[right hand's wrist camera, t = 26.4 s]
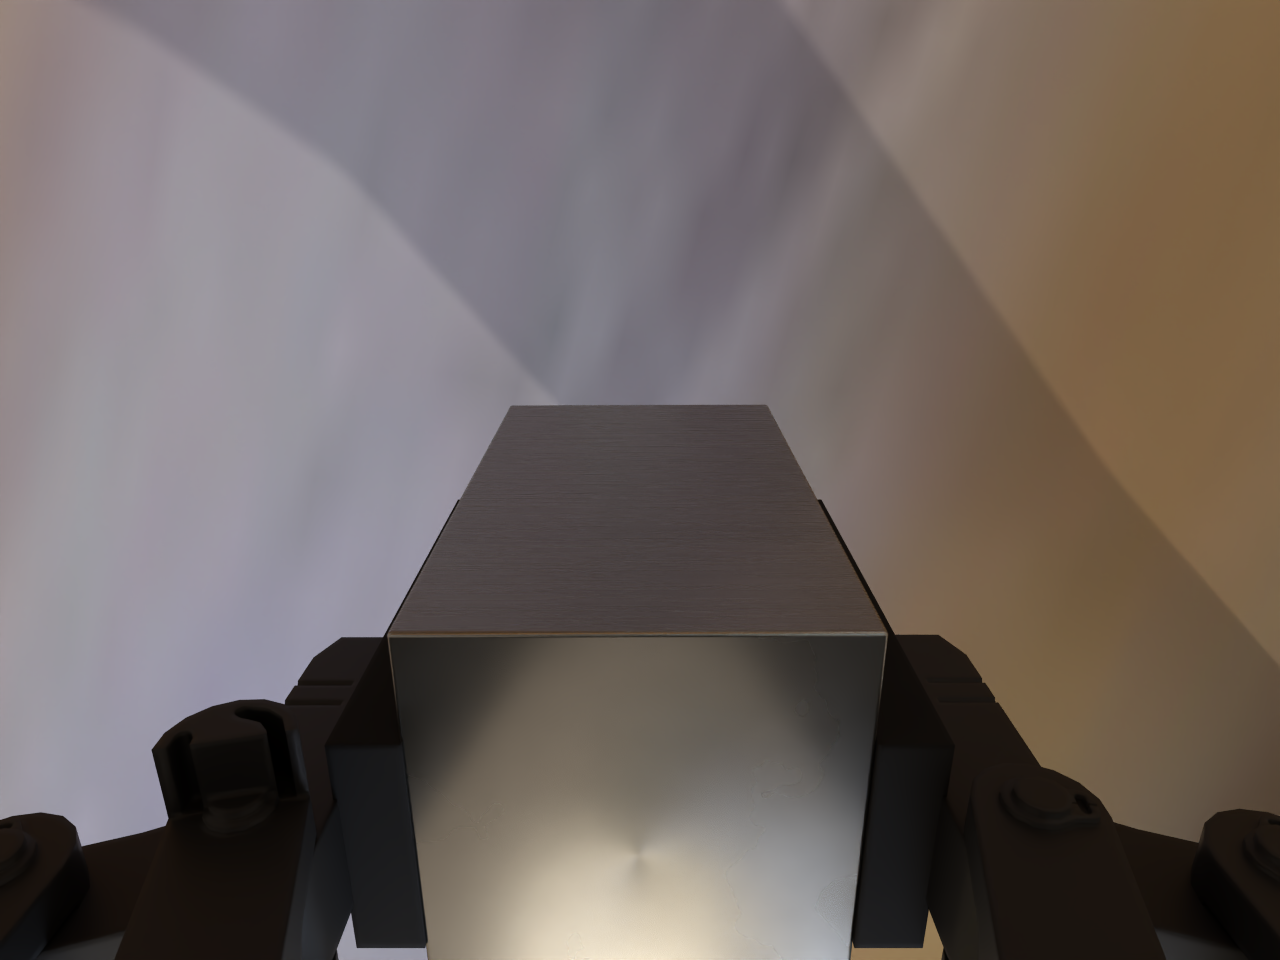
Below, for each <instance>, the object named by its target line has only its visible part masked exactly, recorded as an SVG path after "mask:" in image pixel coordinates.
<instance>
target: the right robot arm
mask: <svg viewBox="0 0 1280 960" xmlns="http://www.w3.org/2000/svg"><path fill="white" fill-rule="evenodd" d="M459 501H460V500H458V501H457V503H456V505H455V506H454V508H453V510H452V512H451V514H450V516H449V517H448V519H447V521H446V523H445V525H444V527H443V528H442V530H441V532H440V534H439V536H438V538H437V539H436V541H435V543H434V545H433V547H432V549H431V550H430V552H429V554H428V556H427V558H426V560H425V561H424V563H423V565H422V567H421V569H420V571H419V572H418V574H417V576H416V578H415V580H414V582H413V583H412V585H411V587H410V589H409V591H408V593H407V594H406V596H405V598H404V600H403V602H402V604H401V606H400V607H399V609H398V611H397V613H396V615H395V617H394V618H393V620H392V622H391V624H390V626H389V628H388V629H387V631H386V633H385V635H384V637H341V638H340V639H339V640H337V641H336V642H334V643H333V644H332V645H330V646H329V647H328V648H326V649H325V650H323V651H322V652H321V653H319V654H318V655H316V656H315V657H314V658H313V659H312V661H311V662H310V664H309V665H308V667H307V668H306V670H305V671H304V673H303V674H302V676H301V677H300V679H299V680H298V686H294V688H293V689H292V691H291V692H290V694H289V695H288V697H287V698H286V700H285V704H281V703H277V702H273V701H269V700H265V699H259V700H237V701H233V702H229V703H224V704H220V705H216V706H212V707H210V708H207V709H205V710H203V711H200V712H198V713H196V714H193V715H191V716H189V717H187V718H185V719H184V720H182V721H181V722H179V723H178V724H176V725H175V726H174V727H172V728H171V729H169V730H168V731H167V732H165V733H164V734H163V736H162V737H161V738H160V740H159V741H158V742H157V744H156V745H155V746H154V747H153V749H152V754H153V758H154V762H155V766H156V770H157V774H158V778H159V782H160V786H161V790H162V794H163V798H164V802H165V806H166V810H167V814H168V818H169V819H168V821H167V824H166V826H164V827H160V828H157V829H153V830H150V831H147V832H143V833H139V834H135V835H130V836H126V837H121V838H117V839H113V840H108V841H104V842H99V843H95V844H91V845H86V846H82V847H81V843H80V840H79V837H78V833H77V830H76V827H75V826H74V825H73V824H72V823H71V822H69V821H68V820H67V819H66V818H65V817H64V816H60V815H54V814H47V813H33V814H25V815H17V816H11V817H8V818H5V819H2V820H0V960H338V954H337V947H338V944H339V942H340V939H341V937H342V934H343V931H344V929H345V926H346V924H347V921H348V918H349V916H350V913H351V915H352V921H353V927H354V933H355V939H356V946H357V948H425V946H426V937H425V928H424V920H423V912H422V904H421V896H420V887H419V879H418V871H417V863H416V855H415V846H414V838H413V830H412V822H411V814H410V805H409V797H408V789H407V781H406V772H405V764H404V756H403V748H402V742H401V740H400V733H399V725H398V717H397V709H396V701H395V694H394V686H393V678H392V670H391V662H390V654H389V646H388V638H387V635H388V632H389V630H390V628H391V626H392V624H393V623H394V621H395V619H396V617H397V615H398V613H399V612H400V610H401V608H402V606H403V604H404V602H405V600H406V599H407V597H408V595H409V593H410V591H411V589H412V587H413V586H414V584H415V582H416V580H417V578H418V576H419V575H420V573H421V571H422V569H423V567H424V565H425V563H426V562H427V560H428V558H429V556H430V554H431V552H432V551H433V549H434V547H435V545H436V543H437V541H438V539H439V538H440V536H441V534H442V532H443V530H444V528H445V527H446V525H447V523H448V521H449V519H450V517H451V515H452V514H453V512H454V510H455V508H456V506H457V504H458V503H459ZM818 502H819V504H820V506H821V508H822V510H823V511H824V513H825V515H826V517H827V519H828V521H829V523H830V525H831V527H832V528H833V530H834V532H835V534H836V536H837V538H838V540H839V542H840V543H841V545H842V547H843V549H844V551H845V553H846V555H847V557H848V559H849V560H850V562H851V564H852V566H853V568H854V570H855V572H856V574H857V575H858V577H859V579H860V581H861V583H862V585H863V587H864V589H865V591H866V592H867V594H868V596H869V598H870V600H871V602H872V604H873V606H874V607H875V609H876V611H877V613H878V615H879V617H880V619H881V621H882V623H883V624H884V626H885V628H886V630H887V632H888V639H887V648H886V656H885V665H884V674H883V682H882V691H881V700H880V708H879V717H878V725H877V734H876V743H875V751H874V760H873V768H872V777H871V786H870V794H869V803H868V812H867V820H866V829H865V837H864V846H863V855H862V863H861V872H860V881H859V889H858V898H857V906H856V915H855V924H854V932H853V945H854V948H923V942H924V936H925V930H926V924H927V917H928V911H930V913H931V916H932V918H933V921H934V923H935V926H936V929H937V931H938V934H939V936H940V939H941V941H942V944H943V947H944V948H943V954H942V960H1280V816H1277V815H1274V814H1271V813H1268V812H1260V811H1252V810H1244V809H1235V810H1229V811H1223V812H1217V813H1216V814H1215V815H1214V816H1213V817H1211V818H1210V819H1209V820H1208V821H1207V822H1205V824H1204V827H1203V831H1202V834H1201V838H1200V841H1199V843H1196V842H1192V841H1187V840H1183V839H1178V838H1174V837H1169V836H1165V835H1160V834H1156V833H1152V832H1147V831H1143V830H1138V829H1135V828H1131V827H1128V826H1125V825H1121V824H1118V823H1114V822H1113V820H1112V817H1111V816H1110V814H1109V813H1108V811H1107V810H1106V808H1105V807H1104V805H1103V804H1102V802H1101V801H1100V799H1099V798H1097V797H1096V796H1095V795H1094V794H1092V793H1091V792H1090V791H1089V790H1087V789H1086V788H1085V787H1084V786H1082V785H1081V784H1080V783H1079V782H1077V781H1074V780H1072V779H1070V778H1068V777H1066V776H1064V775H1062V774H1060V773H1058V772H1056V771H1054V770H1050V769H1047V768H1043V767H1041V766H1040V764H1039V763H1038V761H1037V760H1036V758H1035V757H1034V755H1033V754H1032V752H1031V751H1030V749H1029V748H1028V746H1027V745H1026V743H1025V742H1024V740H1023V739H1022V737H1021V736H1020V734H1019V733H1018V731H1017V730H1016V728H1015V727H1014V725H1013V724H1012V722H1011V721H1010V719H1009V718H1008V716H1007V715H1006V713H1005V712H1004V710H1003V709H1002V707H1001V706H1000V704H999V703H995V697H994V696H993V694H992V693H991V691H990V690H989V688H988V687H987V685H986V684H985V683H982V678H981V676H980V675H979V673H978V672H977V670H976V669H975V667H974V666H973V664H972V663H971V661H970V660H969V658H968V657H967V655H966V654H964V653H963V652H962V651H960V650H959V649H957V648H956V647H955V646H953V645H952V644H950V643H949V642H948V641H946V640H945V639H943V638H942V637H941V636H939V635H895V634H894V632H893V630H892V629H891V627H890V625H889V623H888V621H887V619H886V618H885V616H884V614H883V612H882V610H881V608H880V606H879V605H878V603H877V601H876V599H875V597H874V595H873V594H872V592H871V590H870V588H869V586H868V584H867V583H866V581H865V579H864V577H863V575H862V573H861V572H860V570H859V568H858V566H857V564H856V562H855V561H854V559H853V557H852V555H851V553H850V551H849V550H848V548H847V546H846V544H845V542H844V540H843V539H842V537H841V535H840V533H839V531H838V529H837V527H836V526H835V524H834V522H833V520H832V518H831V516H830V515H829V513H828V511H827V509H826V507H825V505H824V504H823V502H822V500H818Z"/></svg>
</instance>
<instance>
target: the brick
mask: <svg viewBox="0 0 1280 960" xmlns="http://www.w3.org/2000/svg"><path fill="white" fill-rule="evenodd" d="M387 638H388V646H389V654H390V662H391V670H392V678H393V686H394V694H395V701H396V709H397V717H398V725H399V733H400V740H401V742H402V748H403V756H404V764H405V772H406V781H407V789H408V797H409V805H410V814H411V822H412V830H413V838H414V846H415V855H416V863H417V871H418V879H419V887H420V896H421V904H422V912H423V920H424V928H425V937H426V948H427V956H428V960H850V958H851V950H852V941H853V932H854V924H855V915H856V906H857V898H858V889H859V881H860V872H861V863H862V855H863V846H864V837H865V829H866V820H867V812H868V803H869V794H870V786H871V777H872V768H873V760H874V751H875V743H876V734H877V725H878V717H879V708H880V700H881V691H882V682H883V674H884V665H885V656H886V648H887V639H888V632H887V630H886V628H885V626H884V624H883V623H882V621H881V619H880V617H879V615H878V613H877V611H876V609H875V607H874V606H873V604H872V602H871V600H870V598H869V596H868V594H867V592H866V591H865V589H864V587H863V585H862V583H861V581H860V579H859V577H858V575H857V574H856V572H855V570H854V568H853V566H852V564H851V562H850V560H849V559H848V557H847V555H846V553H845V551H844V549H843V547H842V545H841V543H840V542H839V540H838V538H837V536H836V534H835V532H834V530H833V528H832V527H831V525H830V523H829V521H828V519H827V517H826V515H825V513H824V511H823V510H822V508H821V506H820V504H819V502H818V500H817V498H816V496H815V495H814V493H813V491H812V489H811V487H810V485H809V483H808V481H807V479H806V478H805V476H804V474H803V472H802V470H801V468H800V466H799V464H798V463H797V461H796V459H795V457H794V455H793V453H792V451H791V449H790V447H789V446H788V444H787V442H786V440H785V438H784V436H783V434H782V432H781V431H780V429H779V427H778V425H777V423H776V421H775V419H774V417H773V415H772V414H771V412H770V410H769V408H768V406H767V405H545V406H510V408H509V410H508V412H507V414H506V416H505V418H504V419H503V421H502V423H501V425H500V427H499V429H498V430H497V432H496V434H495V436H494V438H493V440H492V442H491V443H490V445H489V447H488V449H487V451H486V453H485V454H484V456H483V458H482V460H481V462H480V464H479V466H478V467H477V469H476V471H475V473H474V475H473V477H472V479H471V480H470V482H469V484H468V486H467V488H466V490H465V491H464V493H463V495H462V497H461V499H460V501H459V503H458V504H457V506H456V508H455V510H454V512H453V514H452V515H451V517H450V519H449V521H448V523H447V525H446V527H445V528H444V530H443V532H442V534H441V536H440V538H439V539H438V541H437V543H436V545H435V547H434V549H433V551H432V552H431V554H430V556H429V558H428V560H427V562H426V563H425V565H424V567H423V569H422V571H421V573H420V575H419V576H418V578H417V580H416V582H415V584H414V586H413V587H412V589H411V591H410V593H409V595H408V597H407V599H406V600H405V602H404V604H403V606H402V608H401V610H400V612H399V613H398V615H397V617H396V619H395V621H394V623H393V624H392V626H391V628H390V630H389V632H388V635H387Z"/></svg>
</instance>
